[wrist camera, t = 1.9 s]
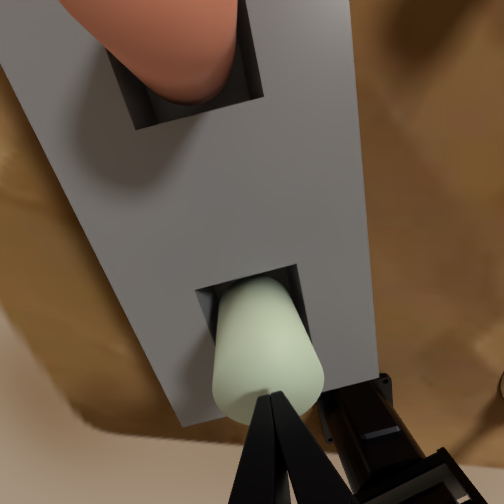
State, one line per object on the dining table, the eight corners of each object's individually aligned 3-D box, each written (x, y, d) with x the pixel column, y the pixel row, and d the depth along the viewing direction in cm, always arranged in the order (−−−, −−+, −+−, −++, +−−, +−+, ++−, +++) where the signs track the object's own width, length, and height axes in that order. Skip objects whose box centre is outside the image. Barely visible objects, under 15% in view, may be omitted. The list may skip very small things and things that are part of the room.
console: (343, 325, 19) (379, 377, 15) (194, 363, 19) (182, 427, 15) (284, -109, 11) (324, -311, 6) (24, -41, 11) (-127, -191, 6)
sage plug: (297, 329, 14) (330, 411, 9) (229, 346, 14) (229, 437, 9) (284, 267, 13) (315, 327, 8) (209, 286, 13) (197, 357, 8)
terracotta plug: (246, 92, 10) (260, 28, 5) (151, 117, 10) (81, 75, 5) (218, -37, 9) (205, -276, 4) (108, -8, 9) (-37, -213, 4)
